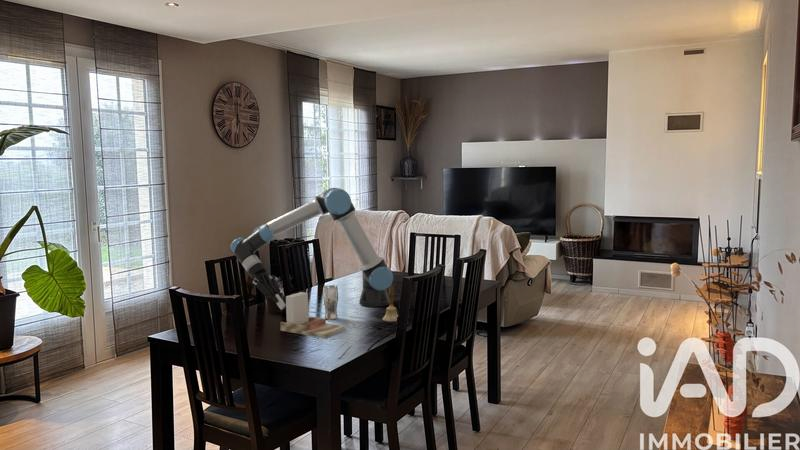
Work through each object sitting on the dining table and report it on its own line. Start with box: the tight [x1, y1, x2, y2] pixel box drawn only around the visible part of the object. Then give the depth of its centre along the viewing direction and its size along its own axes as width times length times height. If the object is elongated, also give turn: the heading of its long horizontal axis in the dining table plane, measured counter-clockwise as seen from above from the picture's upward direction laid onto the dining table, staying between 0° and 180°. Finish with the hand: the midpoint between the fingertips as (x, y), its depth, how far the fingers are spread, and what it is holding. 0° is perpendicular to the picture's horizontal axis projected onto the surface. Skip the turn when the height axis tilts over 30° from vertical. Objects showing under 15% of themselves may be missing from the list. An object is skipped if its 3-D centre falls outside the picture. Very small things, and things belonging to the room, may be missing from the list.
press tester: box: [279, 315, 346, 339], centre depth 258 cm, size 24×14×4 cm, turn 60°
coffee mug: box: [264, 289, 283, 315], centre depth 291 cm, size 12×9×10 cm
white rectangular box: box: [285, 291, 310, 325], centre depth 261 cm, size 5×10×13 cm, turn 150°
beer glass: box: [322, 284, 339, 321], centre depth 276 cm, size 7×7×15 cm
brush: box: [381, 284, 399, 323], centre depth 273 cm, size 8×8×16 cm
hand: (283, 307), depth 264 cm, fingers closed
